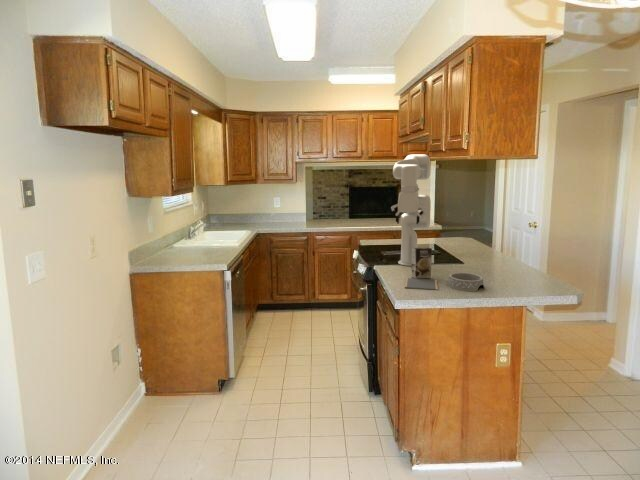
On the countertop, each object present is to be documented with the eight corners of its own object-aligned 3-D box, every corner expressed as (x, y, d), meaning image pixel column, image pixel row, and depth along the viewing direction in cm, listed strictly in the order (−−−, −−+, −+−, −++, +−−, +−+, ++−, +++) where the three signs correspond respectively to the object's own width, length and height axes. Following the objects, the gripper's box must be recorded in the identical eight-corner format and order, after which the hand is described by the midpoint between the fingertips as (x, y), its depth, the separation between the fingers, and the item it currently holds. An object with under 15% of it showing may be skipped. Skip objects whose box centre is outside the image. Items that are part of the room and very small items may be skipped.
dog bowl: (489, 286, 231) (490, 276, 231) (471, 293, 219) (472, 282, 218) (459, 280, 244) (460, 270, 243) (440, 286, 231) (441, 276, 230)
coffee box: (415, 278, 243) (416, 248, 241) (410, 276, 249) (411, 247, 247) (431, 278, 244) (432, 248, 243) (426, 276, 251) (427, 247, 249)
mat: (406, 279, 245) (406, 277, 244) (436, 280, 241) (436, 279, 241) (404, 288, 227) (404, 287, 227) (437, 290, 224) (437, 289, 224)
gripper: (426, 189, 230) (424, 223, 233) (391, 189, 234) (390, 222, 237) (426, 190, 223) (425, 225, 226) (390, 190, 227) (389, 224, 230)
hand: (407, 223), depth 232 cm, fingers open, 9 cm apart
